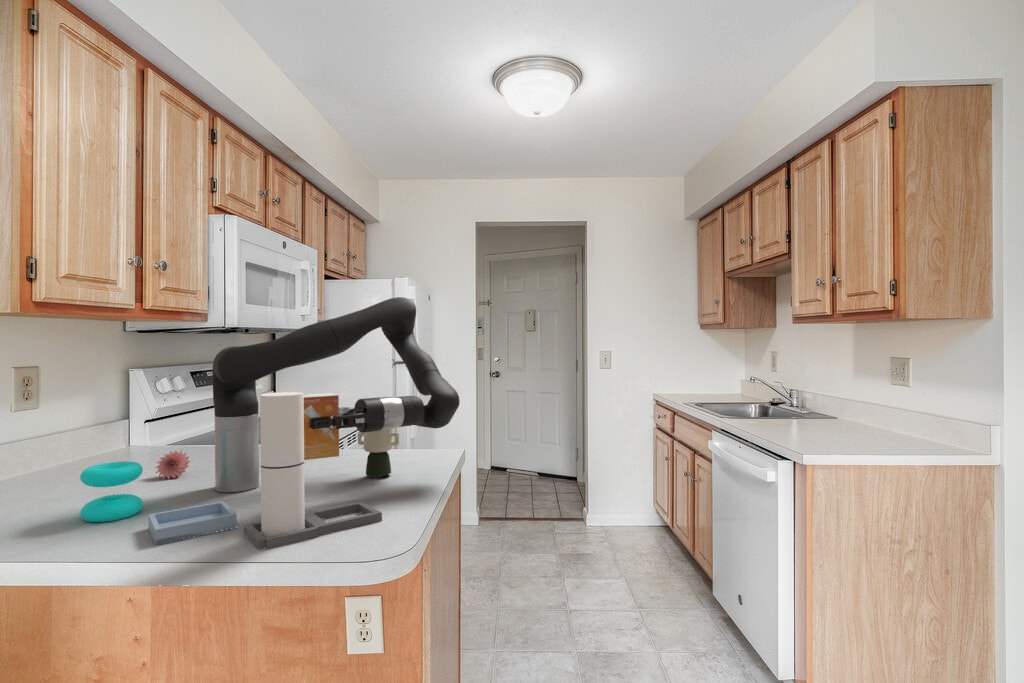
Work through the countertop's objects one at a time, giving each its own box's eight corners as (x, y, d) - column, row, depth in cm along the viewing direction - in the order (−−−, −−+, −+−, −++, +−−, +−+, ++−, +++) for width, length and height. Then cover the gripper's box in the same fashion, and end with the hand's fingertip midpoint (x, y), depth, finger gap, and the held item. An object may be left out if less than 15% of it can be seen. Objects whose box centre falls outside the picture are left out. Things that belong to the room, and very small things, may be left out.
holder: (243, 532, 98) (242, 524, 98) (360, 507, 111) (360, 500, 111) (259, 550, 89) (259, 541, 89) (383, 521, 103) (383, 513, 103)
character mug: (404, 473, 140) (403, 423, 140) (394, 480, 133) (393, 427, 133) (363, 472, 142) (363, 422, 141) (352, 479, 134) (351, 427, 134)
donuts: (67, 472, 102) (98, 461, 112) (68, 525, 102) (99, 509, 112) (126, 470, 104) (151, 459, 114) (127, 522, 104) (152, 506, 114)
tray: (148, 528, 100) (148, 514, 100) (224, 514, 108) (224, 501, 108) (155, 545, 92) (155, 529, 92) (236, 528, 100) (236, 514, 100)
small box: (299, 461, 109) (298, 397, 109) (293, 456, 115) (291, 394, 115) (340, 456, 114) (339, 394, 114) (332, 451, 119) (330, 392, 119)
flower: (175, 450, 143) (167, 441, 139) (201, 462, 143) (194, 454, 138) (153, 476, 139) (144, 468, 134) (179, 489, 138) (171, 482, 134)
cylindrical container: (262, 544, 92) (261, 396, 92) (260, 531, 98) (259, 393, 98) (307, 536, 95) (305, 394, 95) (302, 524, 102) (301, 391, 101)
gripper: (366, 395, 129) (293, 400, 118) (393, 400, 117) (315, 406, 107) (366, 426, 129) (294, 435, 118) (393, 434, 118) (316, 444, 107)
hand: (304, 421), depth 113 cm, fingers closed on small box, 6 cm apart
